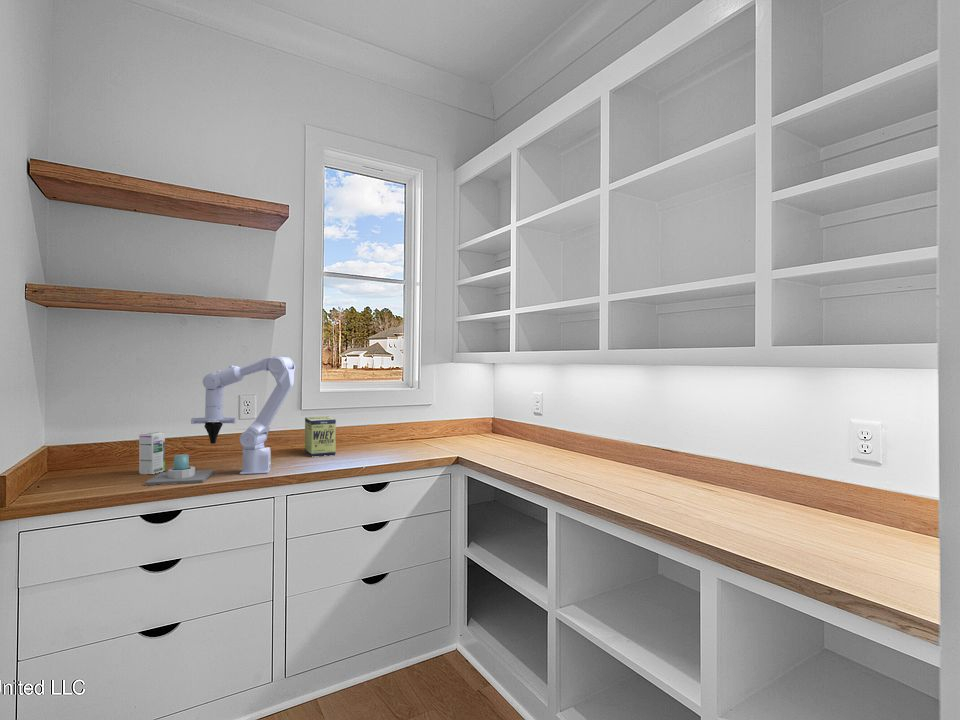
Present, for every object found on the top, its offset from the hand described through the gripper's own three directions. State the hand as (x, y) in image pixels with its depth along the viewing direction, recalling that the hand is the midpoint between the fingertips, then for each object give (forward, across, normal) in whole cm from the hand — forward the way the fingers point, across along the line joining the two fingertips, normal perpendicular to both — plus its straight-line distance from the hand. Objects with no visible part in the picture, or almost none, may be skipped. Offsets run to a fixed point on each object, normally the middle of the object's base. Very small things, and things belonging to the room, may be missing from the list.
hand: (213, 443), depth 188 cm
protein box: (+10, +36, +30) cm, 48 cm away
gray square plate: (+10, -8, -10) cm, 16 cm away
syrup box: (+11, -20, +3) cm, 23 cm away
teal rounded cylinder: (+10, -8, -10) cm, 16 cm away
